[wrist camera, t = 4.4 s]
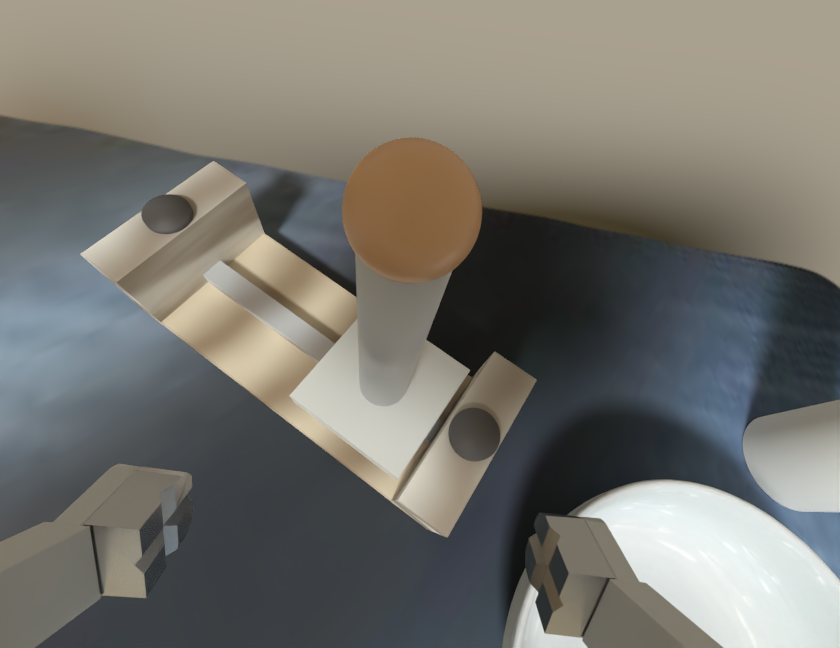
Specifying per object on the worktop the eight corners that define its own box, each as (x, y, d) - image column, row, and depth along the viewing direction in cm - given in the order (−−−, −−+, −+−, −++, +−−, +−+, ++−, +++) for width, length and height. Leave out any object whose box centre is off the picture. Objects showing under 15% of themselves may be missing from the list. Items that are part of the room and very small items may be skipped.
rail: (141, 308, 29) (75, 250, 23) (241, 225, 33) (211, 156, 27) (426, 529, 26) (448, 538, 19) (499, 406, 30) (539, 377, 23)
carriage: (294, 403, 25) (133, 168, 7) (371, 314, 28) (384, 7, 11) (395, 480, 24) (483, 416, 6) (463, 379, 27) (644, 152, 10)
